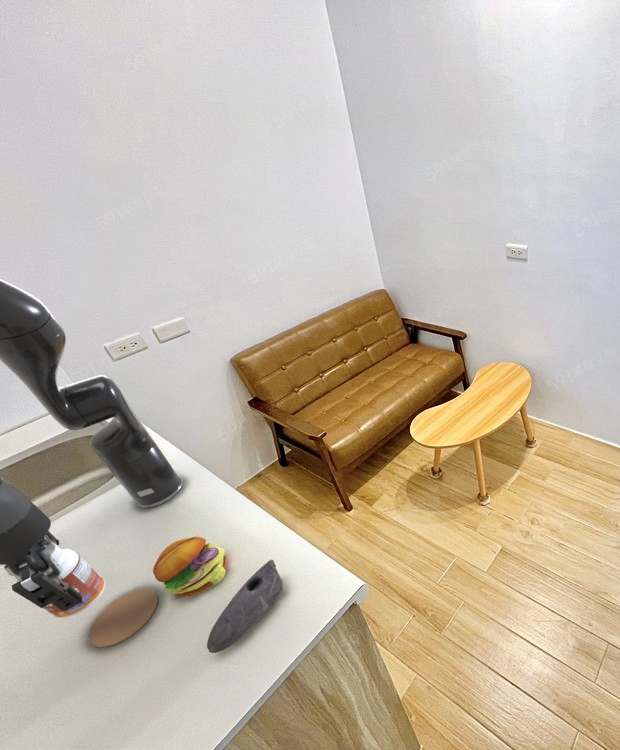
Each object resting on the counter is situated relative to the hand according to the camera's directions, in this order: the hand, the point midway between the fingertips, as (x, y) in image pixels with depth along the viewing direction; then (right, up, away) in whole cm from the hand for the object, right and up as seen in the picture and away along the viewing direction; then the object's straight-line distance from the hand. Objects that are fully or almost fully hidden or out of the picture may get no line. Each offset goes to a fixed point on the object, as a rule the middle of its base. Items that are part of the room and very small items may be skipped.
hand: (70, 588), depth 58 cm
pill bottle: (0, -2, +2) cm, 3 cm away
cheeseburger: (+4, -9, +20) cm, 22 cm away
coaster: (-5, -13, +13) cm, 19 cm away
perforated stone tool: (+20, -12, +13) cm, 27 cm away
